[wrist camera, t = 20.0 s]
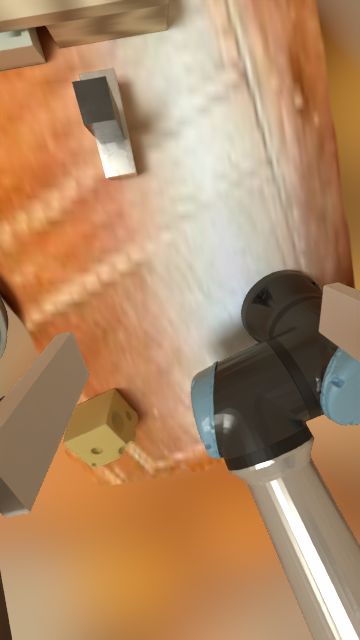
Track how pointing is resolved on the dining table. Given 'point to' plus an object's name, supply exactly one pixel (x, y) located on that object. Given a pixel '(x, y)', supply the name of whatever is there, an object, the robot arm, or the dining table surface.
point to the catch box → (20, 49)
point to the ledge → (85, 18)
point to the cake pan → (3, 327)
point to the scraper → (106, 121)
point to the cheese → (101, 428)
